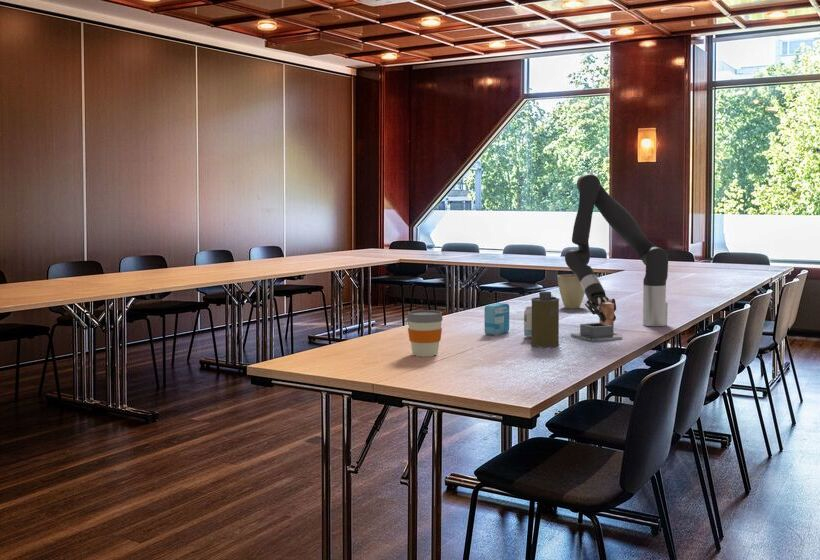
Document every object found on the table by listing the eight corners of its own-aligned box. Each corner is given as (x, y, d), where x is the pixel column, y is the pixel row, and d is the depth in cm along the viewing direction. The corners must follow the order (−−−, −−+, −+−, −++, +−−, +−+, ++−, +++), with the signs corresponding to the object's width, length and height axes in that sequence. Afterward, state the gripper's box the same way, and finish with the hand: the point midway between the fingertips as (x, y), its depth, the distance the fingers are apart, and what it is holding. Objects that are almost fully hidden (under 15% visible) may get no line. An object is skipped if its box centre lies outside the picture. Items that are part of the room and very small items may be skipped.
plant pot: (557, 309, 409) (557, 277, 407) (556, 305, 423) (556, 274, 422) (588, 309, 407) (589, 277, 405) (586, 305, 421) (586, 274, 420)
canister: (549, 348, 305) (549, 294, 304) (525, 345, 313) (525, 292, 311) (565, 344, 313) (565, 291, 311) (541, 341, 320) (542, 289, 318)
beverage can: (541, 339, 325) (541, 308, 324) (523, 338, 327) (523, 308, 325) (542, 336, 332) (542, 306, 331) (524, 336, 333) (524, 306, 332)
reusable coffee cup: (420, 349, 306) (420, 309, 304) (449, 353, 299) (449, 311, 297) (400, 355, 296) (399, 313, 294) (430, 359, 288) (429, 315, 287)
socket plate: (601, 333, 336) (601, 321, 336) (622, 339, 323) (622, 326, 323) (571, 336, 331) (571, 323, 331) (591, 341, 318) (591, 328, 318)
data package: (493, 336, 334) (493, 306, 333) (484, 335, 337) (484, 305, 336) (509, 332, 343) (509, 303, 342) (500, 331, 346) (500, 302, 345)
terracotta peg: (607, 331, 342) (608, 302, 341) (613, 332, 338) (613, 303, 337) (599, 331, 341) (599, 302, 339) (605, 333, 337) (605, 303, 336)
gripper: (581, 283, 342) (598, 316, 332) (610, 281, 347) (628, 314, 337) (574, 294, 347) (590, 327, 337) (603, 292, 353) (620, 325, 343)
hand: (609, 320), depth 337 cm, fingers closed on terracotta peg, 4 cm apart
